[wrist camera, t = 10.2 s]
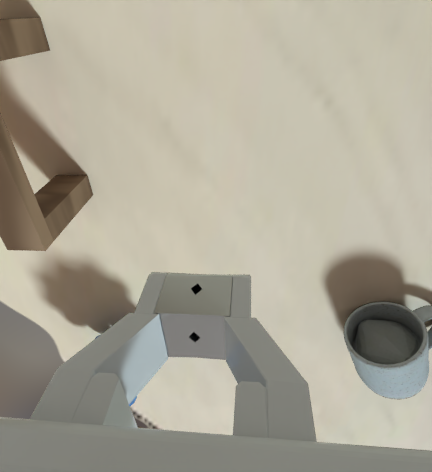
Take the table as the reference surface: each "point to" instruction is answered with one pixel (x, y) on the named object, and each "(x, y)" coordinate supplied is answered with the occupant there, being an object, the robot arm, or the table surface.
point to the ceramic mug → (390, 347)
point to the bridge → (14, 177)
